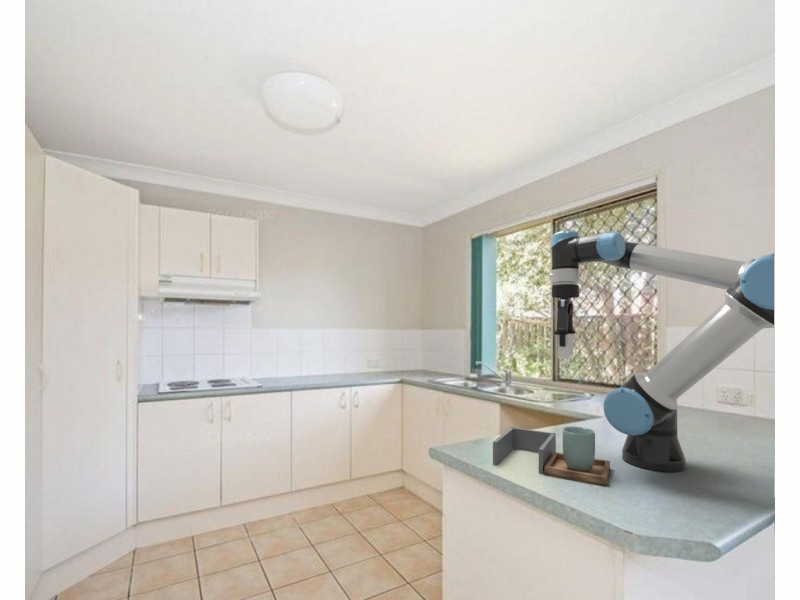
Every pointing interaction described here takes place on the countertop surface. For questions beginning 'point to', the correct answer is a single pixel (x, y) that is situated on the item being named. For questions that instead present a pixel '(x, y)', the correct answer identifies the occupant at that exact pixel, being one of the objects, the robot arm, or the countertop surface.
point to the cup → (578, 448)
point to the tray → (593, 476)
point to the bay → (525, 444)
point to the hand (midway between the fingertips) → (565, 356)
